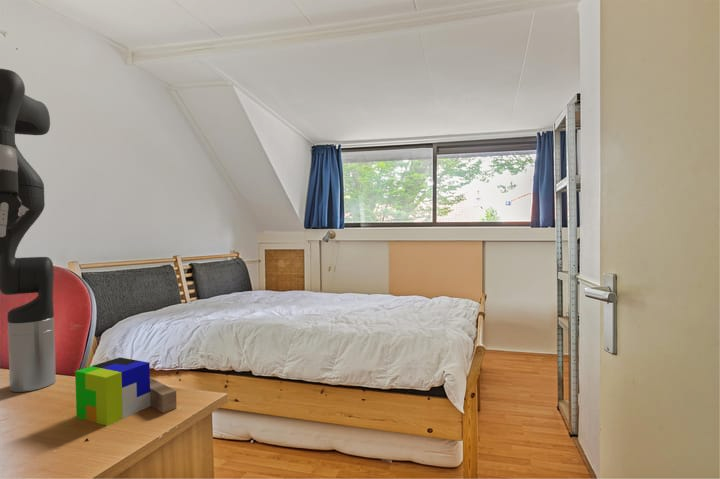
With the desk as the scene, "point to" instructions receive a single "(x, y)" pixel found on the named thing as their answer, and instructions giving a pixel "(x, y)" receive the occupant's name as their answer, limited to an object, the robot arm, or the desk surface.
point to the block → (162, 396)
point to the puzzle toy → (112, 390)
